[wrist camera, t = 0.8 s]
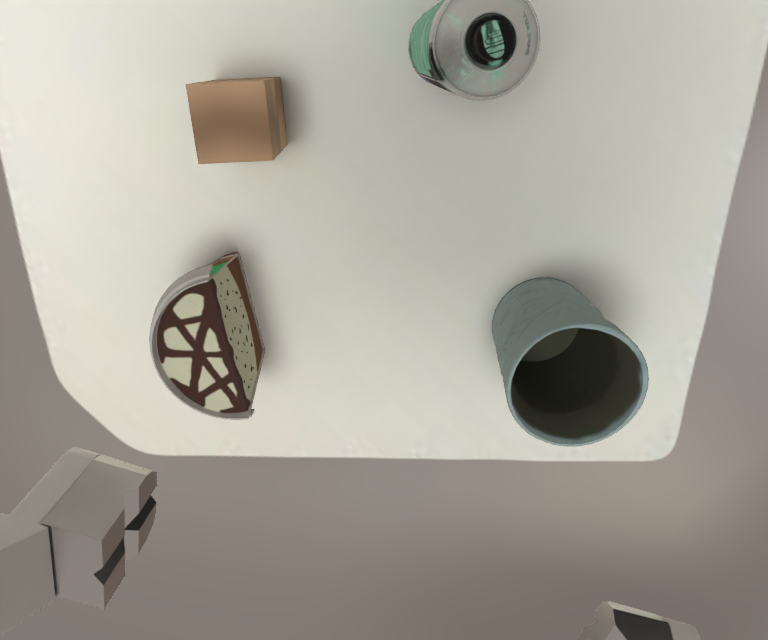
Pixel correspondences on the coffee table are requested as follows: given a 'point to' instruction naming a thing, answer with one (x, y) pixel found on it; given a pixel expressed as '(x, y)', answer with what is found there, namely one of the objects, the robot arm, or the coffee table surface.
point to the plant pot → (566, 365)
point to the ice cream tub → (209, 340)
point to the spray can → (476, 46)
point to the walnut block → (237, 119)
